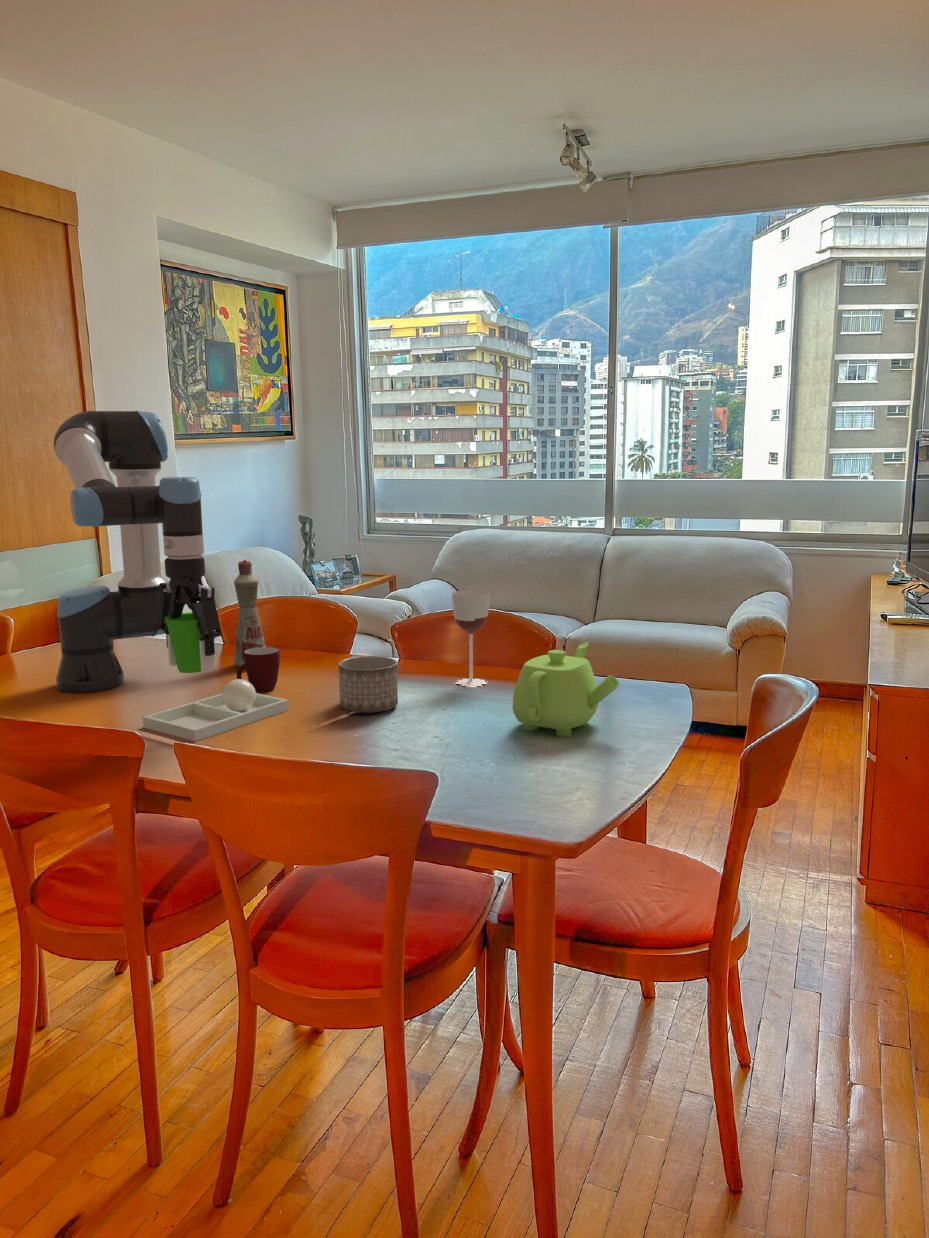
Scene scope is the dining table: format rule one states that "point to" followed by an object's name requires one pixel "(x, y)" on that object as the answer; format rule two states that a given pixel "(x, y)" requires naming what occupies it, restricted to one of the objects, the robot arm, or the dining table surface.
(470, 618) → the wineglass
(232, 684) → the white ball
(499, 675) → the dining table surface
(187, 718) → the tray
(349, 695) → the planter
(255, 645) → the bottle
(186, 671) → the cup
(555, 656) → the teapot
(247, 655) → the mug
